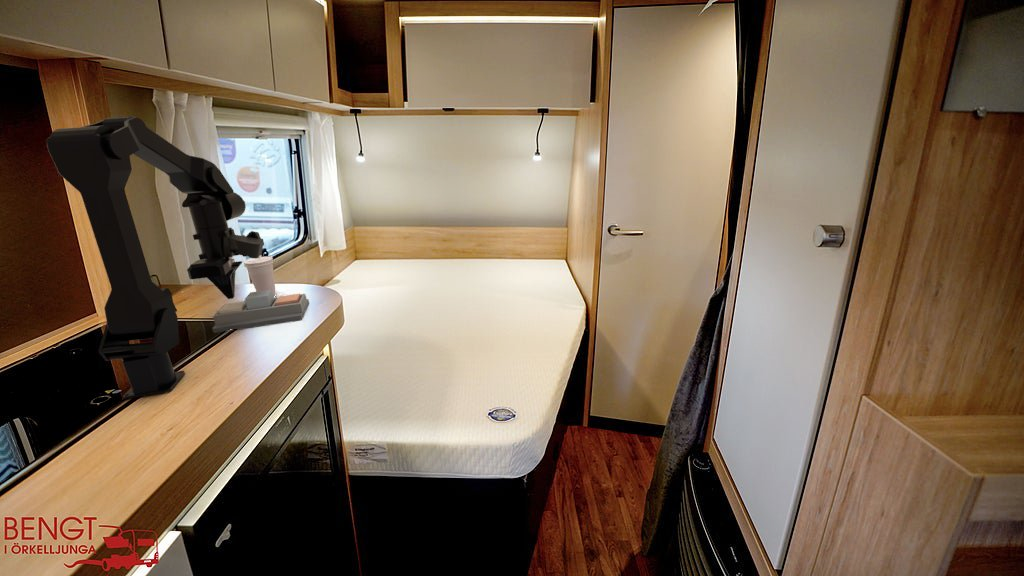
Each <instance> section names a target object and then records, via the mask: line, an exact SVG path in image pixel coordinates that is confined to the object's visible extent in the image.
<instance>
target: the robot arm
mask: <svg viewBox="0 0 1024 576" xmlns="http://www.w3.org/2000/svg"><path fill="white" fill-rule="evenodd" d="M46 147H47V150H48V153H49V155H50V157H51V159H52V161H53V163H54V165H55V167H56V169H57V172H58V174H59V175H60V177H62V178H63V179H64V180H65V181H66V182H68V183H69V184H70V185H71V186H72V187H73V188H74V189H76V190H77V192H78V193H79V194H80V195H81V198H82V202H83V205H84V207H85V208H84V209H85V211H86V213H87V218H88V221H89V223H90V227H91V230H92V232H93V237H94V239H95V243H96V246H97V247H98V251H99V254H100V257H101V260H102V261H101V262H102V263H103V266H104V269H105V274H106V275H107V279H108V282H109V284H110V292H109V295H108V298H107V299H106V303H105V304H104V314H105V320H106V325H105V328H104V331H103V333H102V338H101V340H100V343H99V347H98V350H97V352H98V353H99V355H100V356H101V358H102V359H104V360H105V361H106V362H107V361H112V360H121V364H122V366H123V369H124V371H125V374H126V376H127V380H128V382H129V384H130V388H129V389H128V390H127V391H126V392H125V393H124V394H123V395H122V397H123V400H128V398H129V399H133V398H139V397H145V396H151V395H152V396H153V395H158V394H164V393H168V392H171V391H172V390H173V389H174V387H175V386H176V385H177V384H178V383H179V381H180V380H181V379H182V378H183V377H184V375H185V374H186V372H185V370H178V371H174V367H173V364H172V362H171V357H170V356H169V355H170V354H169V351H170V350H172V349H174V348H175V347H176V346H178V345H179V344H180V336H179V335H180V334H179V319H178V315H177V312H178V309H177V308H176V306H175V304H174V300H173V299H174V298H173V294H172V292H171V290H170V289H169V288H168V287H163V288H160V287H159V286H158V285H156V284H155V283H154V282H153V280H152V278H151V275H150V272H149V268H148V265H147V261H146V258H145V254H144V250H143V248H142V245H141V240H140V239H139V234H138V232H137V231H138V230H137V227H136V224H135V222H134V217H133V214H132V211H131V207H130V204H129V201H128V198H127V194H126V186H127V183H128V181H129V178H130V175H131V173H132V162H131V158H130V157H131V156H132V155H134V156H136V157H138V158H139V159H141V160H143V161H145V162H146V163H148V164H150V165H152V166H153V167H154V168H156V169H158V170H160V171H161V172H162V173H165V174H166V175H167V176H168V179H169V180H168V181H169V183H170V184H171V185H172V186H173V187H175V188H176V190H178V191H179V192H181V193H183V194H186V198H185V199H184V200H183V201H182V204H181V207H182V208H188V210H189V214H190V216H191V220H192V223H193V226H194V227H193V228H194V231H195V233H193V234H192V237H193V241H195V240H197V241H198V245H199V248H200V251H201V252H200V253H199V254H198V259H197V260H196V261H194V262H193V263H191V264H190V265H189V267H188V268H187V269H186V271H187V275H188V278H189V280H197V279H205V278H206V279H208V280H209V281H210V282H211V283H212V284H213V285H214V286H215V287H216V288H217V289H218V290H219V292H221V294H222V295H224V296H225V297H226V299H227V300H232V299H234V298H235V292H236V291H235V289H236V287H235V285H236V271H237V270H238V268H239V267H241V265H242V264H243V261H242V260H240V261H239V260H238V261H236V260H235V258H233V257H236V256H242V257H244V258H245V257H249V259H253V258H259V256H260V255H261V256H262V253H263V248H264V245H265V243H264V238H261V236H260V235H261V234H260V233H259V232H258V231H253V230H250V231H249V232H248V234H246V235H245V234H242V235H239V234H235V230H234V228H233V227H229V225H228V222H227V221H230V220H233V219H236V218H238V217H239V218H240V217H241V216H243V214H244V213H245V211H246V201H245V200H244V199H243V198H242V196H241V195H240V194H238V193H236V192H234V189H233V188H232V186H231V184H230V183H229V182H228V180H227V178H226V177H225V175H224V174H223V173H222V171H221V170H220V168H219V167H217V165H216V164H215V163H213V162H212V161H210V160H208V159H205V158H203V157H199V156H193V155H189V154H187V153H185V152H184V151H183V150H181V149H180V148H178V147H176V146H175V145H174V144H172V143H171V142H170V141H168V140H166V139H165V138H164V137H162V136H161V135H159V134H158V133H157V132H155V131H153V130H152V129H151V128H149V127H148V126H147V125H146V124H145V122H144V121H143V119H141V118H139V117H135V116H132V115H130V116H129V115H128V116H115V117H113V116H112V117H106V118H104V119H101V120H99V121H97V122H94V123H90V124H86V125H83V126H79V127H64V128H56V129H55V130H53V131H52V132H51V134H50V136H49V137H47V139H46ZM143 340H152V341H148V342H147V341H145V342H136V343H133V341H143ZM131 341H132V343H130V342H131Z"/></svg>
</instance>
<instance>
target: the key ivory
mask: <svg viewBox="0 0 1024 576" xmlns="http://www.w3.org/2000/svg"><path fill="white" fill-rule="evenodd" d="M246 306H247V305H246V301H245V300H244V301H237V302H228V303H223V305H222V306H221V307H222V308H221V307H220V308H221V309H220V308H219V309H220V310H219V309H218V310H219V314H222V313H229V312H236V311H243V310H244V309H245V308H246Z"/></svg>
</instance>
